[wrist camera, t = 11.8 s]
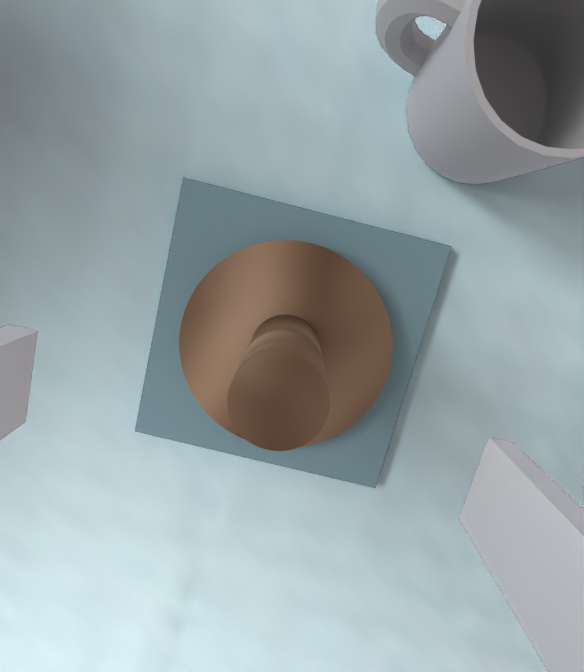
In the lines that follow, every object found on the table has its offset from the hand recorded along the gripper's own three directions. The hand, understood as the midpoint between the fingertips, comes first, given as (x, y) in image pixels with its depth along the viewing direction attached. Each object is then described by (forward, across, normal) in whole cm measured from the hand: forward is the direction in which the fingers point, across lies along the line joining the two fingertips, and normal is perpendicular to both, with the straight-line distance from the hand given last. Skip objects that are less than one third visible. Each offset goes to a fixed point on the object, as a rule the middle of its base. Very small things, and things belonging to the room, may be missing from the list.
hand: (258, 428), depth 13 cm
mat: (+13, +1, 0) cm, 13 cm away
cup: (+13, +6, +14) cm, 20 cm away
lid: (+12, +1, 0) cm, 12 cm away
